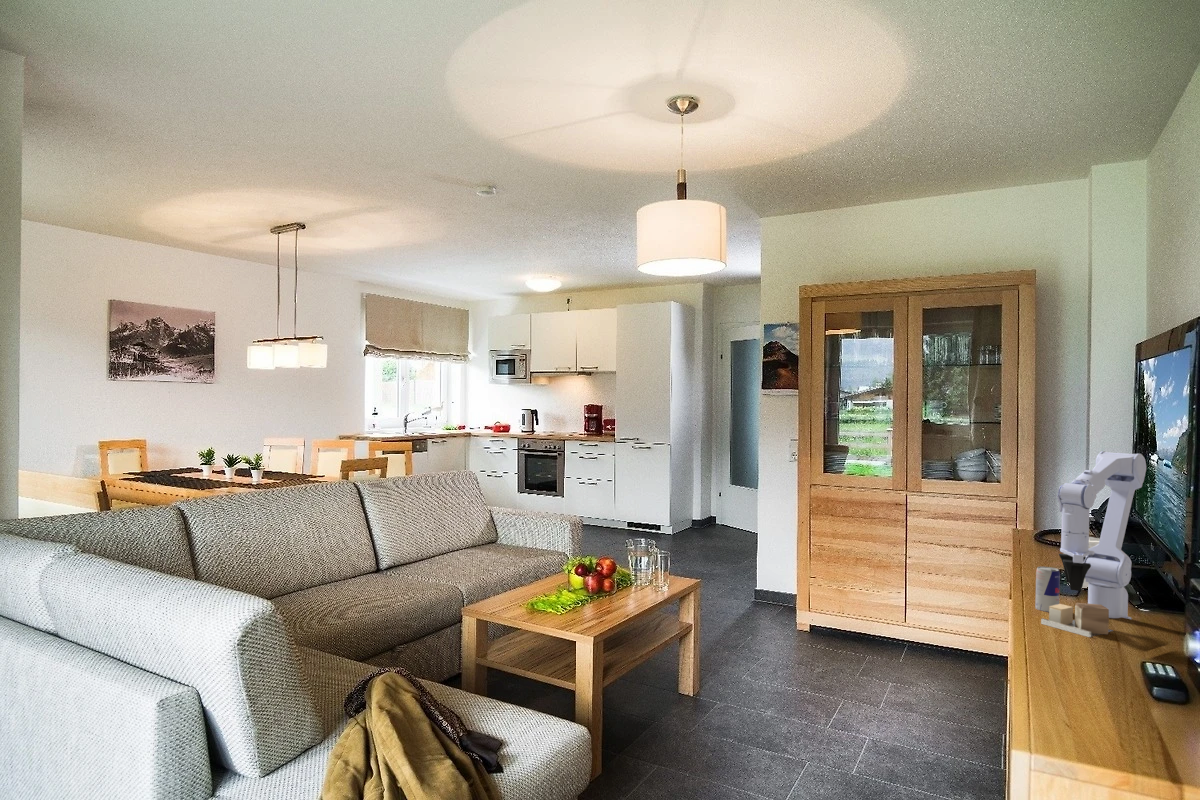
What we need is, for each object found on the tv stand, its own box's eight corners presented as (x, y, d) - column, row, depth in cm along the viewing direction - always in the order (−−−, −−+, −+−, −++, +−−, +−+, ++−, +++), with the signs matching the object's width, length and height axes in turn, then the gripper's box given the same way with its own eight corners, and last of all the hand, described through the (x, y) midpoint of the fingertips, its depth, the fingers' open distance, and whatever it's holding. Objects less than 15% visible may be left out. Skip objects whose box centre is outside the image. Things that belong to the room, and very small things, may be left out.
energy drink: (1062, 617, 187) (1063, 571, 187) (1039, 615, 188) (1041, 570, 188) (1053, 611, 192) (1055, 567, 192) (1031, 610, 193) (1033, 565, 193)
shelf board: (1065, 622, 183) (1065, 613, 183) (1113, 635, 173) (1113, 625, 173) (1040, 628, 177) (1041, 618, 177) (1089, 642, 168) (1089, 632, 168)
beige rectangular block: (1059, 619, 181) (1060, 603, 181) (1072, 622, 178) (1072, 606, 178) (1048, 622, 179) (1048, 606, 179) (1060, 625, 176) (1061, 609, 176)
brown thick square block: (1074, 627, 175) (1074, 602, 175) (1100, 629, 174) (1101, 604, 174) (1081, 632, 171) (1081, 607, 171) (1108, 634, 170) (1108, 609, 170)
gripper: (1099, 538, 170) (1097, 595, 170) (1090, 529, 183) (1088, 582, 183) (1063, 535, 173) (1062, 591, 173) (1057, 526, 186) (1056, 578, 186)
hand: (1073, 586), depth 178 cm, fingers open, 7 cm apart
